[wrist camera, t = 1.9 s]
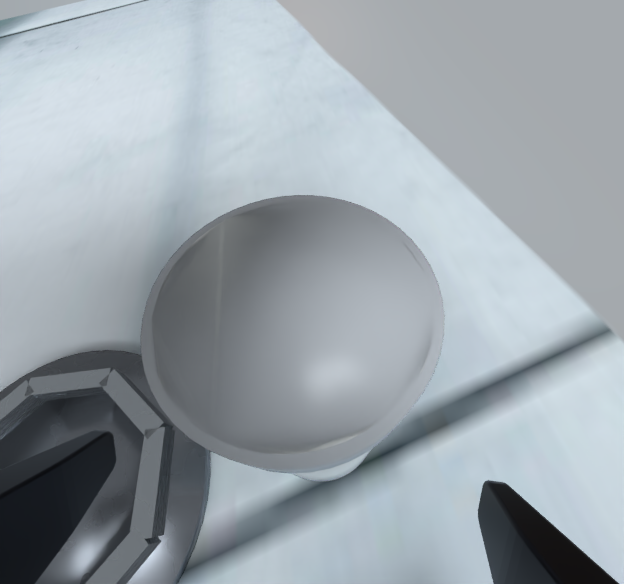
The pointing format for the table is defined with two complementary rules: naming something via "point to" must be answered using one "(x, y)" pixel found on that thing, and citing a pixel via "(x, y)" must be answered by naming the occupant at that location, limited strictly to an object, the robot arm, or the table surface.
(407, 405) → the capped white cylinder
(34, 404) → the collar
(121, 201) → the table surface
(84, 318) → the table surface
